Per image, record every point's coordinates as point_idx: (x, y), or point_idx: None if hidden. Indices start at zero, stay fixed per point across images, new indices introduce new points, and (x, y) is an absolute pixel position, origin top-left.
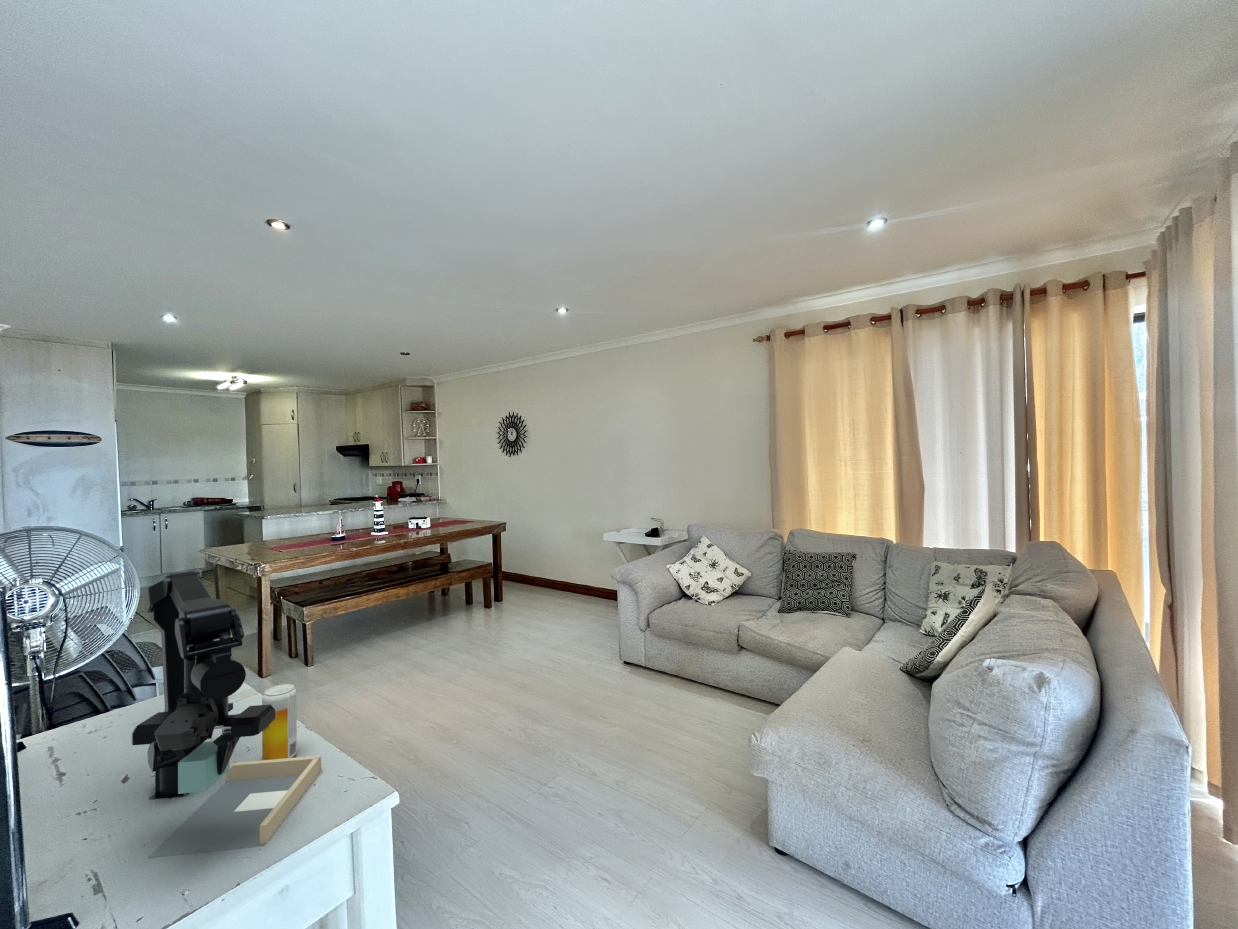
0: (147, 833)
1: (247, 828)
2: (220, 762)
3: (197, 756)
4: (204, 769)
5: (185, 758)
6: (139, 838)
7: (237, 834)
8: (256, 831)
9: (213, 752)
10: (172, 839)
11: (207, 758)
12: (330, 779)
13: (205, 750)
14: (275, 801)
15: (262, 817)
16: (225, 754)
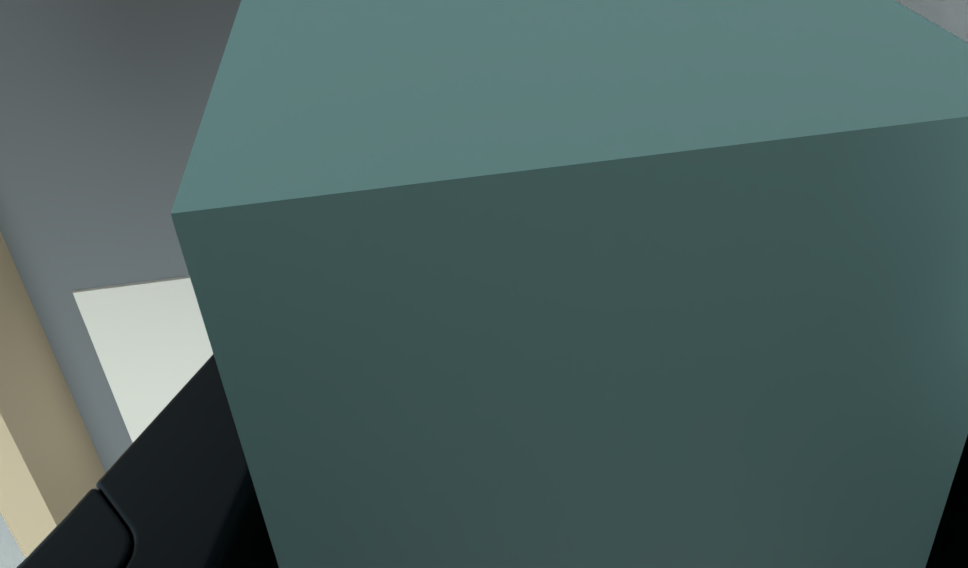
0: None
1: (151, 70)
2: (218, 401)
3: (649, 404)
4: (241, 81)
5: (943, 311)
6: (954, 27)
7: (181, 4)
8: (34, 32)
9: (322, 563)
10: None
11: (220, 319)
12: (10, 548)
13: None
14: (184, 345)
15: (137, 191)
16: (50, 546)
